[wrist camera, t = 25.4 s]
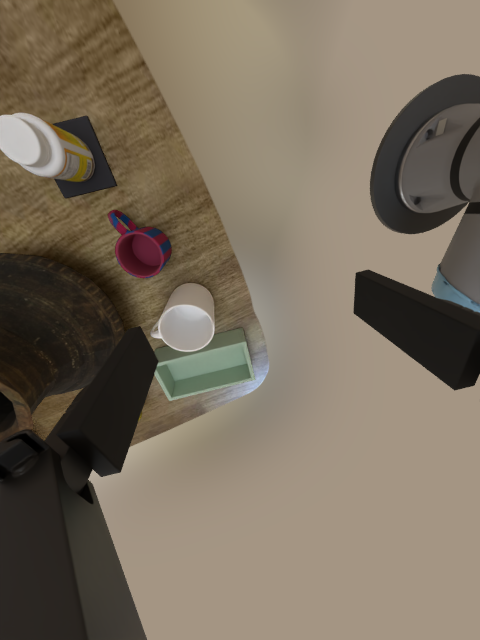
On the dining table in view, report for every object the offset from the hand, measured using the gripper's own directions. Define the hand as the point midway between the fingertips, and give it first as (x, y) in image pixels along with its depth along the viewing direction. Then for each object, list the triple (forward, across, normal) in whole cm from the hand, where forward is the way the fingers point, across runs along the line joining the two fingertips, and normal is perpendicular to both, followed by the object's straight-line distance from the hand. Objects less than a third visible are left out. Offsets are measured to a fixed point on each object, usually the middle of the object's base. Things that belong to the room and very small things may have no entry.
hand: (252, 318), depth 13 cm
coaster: (+29, -18, +16) cm, 37 cm away
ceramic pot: (+29, -32, -5) cm, 43 cm away
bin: (+29, -10, -23) cm, 38 cm away
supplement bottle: (+28, -18, +16) cm, 37 cm away
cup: (+29, -13, +4) cm, 32 cm away
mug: (+29, -11, -10) cm, 32 cm away
